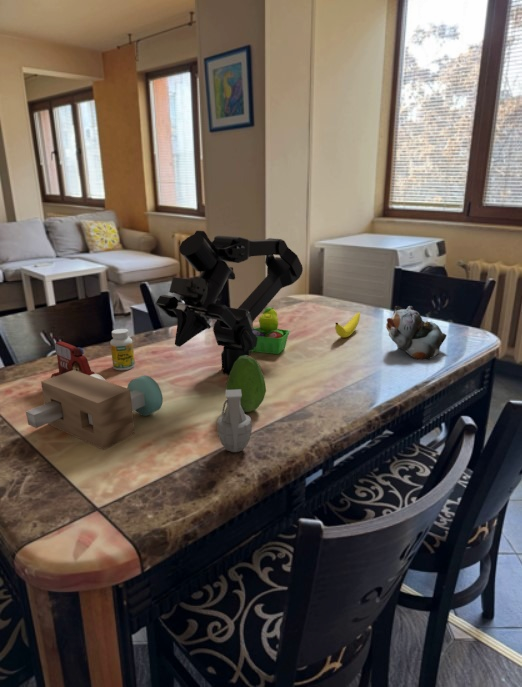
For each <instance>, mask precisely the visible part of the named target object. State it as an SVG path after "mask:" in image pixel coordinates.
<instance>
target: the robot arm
mask: <svg viewBox="0 0 522 687" xmlns="http://www.w3.org/2000/svg"><path fill="white" fill-rule="evenodd" d="M178 249H179V253H180V255H181V256H182V257H183V258H184V259H185V260H186V261H187V262H188V263H189V265H190V266H191V267H192V268H193V269H194V270H195V271H196V272H200V274H199V276H196V277H194V278H192V279H188V278H181V277H172V278H171V283H170V287H169V291H168V292H169V293H170V294H173V293H174V294H176V295H179V296H180V297H179V299H180V300H181V301H182V302H181V301H179V299H178V298H177V297H176V296H173V295H168V294H167V295H166V294H162V295H159V296H158V298H157V300H156V302H155V305H156V306H157V307H158V308H159V309H161V311H163V313H164V314H166V315H167V316H168V317H170V318H172V319H177V322H176V330H175V331H176V332H175V339H174V345H175V346H176V347H179V348H181V347H182V346H183V345H184V344H186V343H187V342H189V341H191V339H193V338H194V337H195V336H197V335H199V334H201V333H202V332H204V331H205V330H207V329H211V325H210V324H211V323H212V320H213V321H214V320H216V321H215V322H214V324H213V329H212V332H213V334H214V338H215V341H216V343H217V346H220V347H223V348H222V349H223V350H222V351H221V354H220V358H221V369H222V374H224V375H225V374H226V375H230V372H231V370H232V367H233V365H234V363H235V361H236V360H237V359H238V358H239V357H240V356H243V355H248V356H250V357H252V356H251V354H252V353H251V352H252V351H251V350H253V349H254V347H256V345H257V340H258V338H257V337H256V336H255V335H254V333H253V327H254V321H255V320H256V319H257V318H258V316H260V314H261V313H263V311H264V310H265V309H266V308H267V306H268V305H269V304H270V303H271V301H272V300H273V299H274V298H275V296H277V294H278V293H279V292H280V291H281V290H282V289H283V288H285V287H289V286H292V285H294V283H296V282H297V281H298V280H300V278H301V276H302V274H303V265H302V263H301V260H300V258H299V255H298V254H296V252H294V251H293V250H292V249H290V248H289V247H288V245H287V243H286V241H285V240H284V239H282V238H272V237H270V238H266V239H248V238H245V237H242V236H232V235H231V236H230V235H217V236H216V235H215V237H214V238H213V240H210V238H209V237H208V235H207V233H206V232H205V230H195V232H194V234H191V235H189V236H188V237H186V238H185V239H184V240H183V241H181V243H180V245H179V248H178ZM274 255H275V256H276V257H275V256H274ZM259 256H260V257H261V256H265V261H264V263H265V265H266V267H267V268H266V276H265V277H264V279H263V280H262V281H261V282H260V283H258V284H259V285H257V286H256V288H255V289H253V291H252V292H251V293H250V294H249V295H248V296H247V297H246V298H245V299H244V301H242V303H241V304H240V305H239V306H238V308H235V307H229V306H227V305H226V304H221V303H220V304H219V303H216V301H221V300H222V299H223V296H222V294H221V292H222V290H223V288H224V286H225V284H226V282H227V280H233V281H234V280H236V273H235V272H234V267H233V266H229V265H228V264H227V263H235V264H239V263H242V262H246V261H247V260H249V258H251V257H259ZM184 302H185V303H184Z"/></svg>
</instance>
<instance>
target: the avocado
mask: <svg viewBox="0 0 522 687" xmlns="http://www.w3.org/2000/svg"><path fill="white" fill-rule="evenodd" d="M262 371H263V370H262V369H261V367H260V365H259V363H258V361H257V360H256V358H254V357H252V356H251V357H250V356H248V355H243V356H240V357H239V358H238V359H237V360H236V361H235V363H234V365H233V367H232V370H231V372H230V374H228V379H227V382H226V386H225V390H236V389H241V394H242V397H241V399H240V405H241V407H242V409H243V411H244V413H250V412H253V411H255V410H257V409H258V408H259V407H260V405H261V404H262V403H263V401H264V399H265V396H266V392H267V388H266V387H267V386H266V380H265V376H264V373H263V372H262Z"/></svg>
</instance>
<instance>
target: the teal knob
mask: <svg viewBox="0 0 522 687" xmlns="http://www.w3.org/2000/svg"><path fill="white" fill-rule="evenodd" d="M126 388H128V389H130V393H131V402H132V412H134V411H135V412H136V413H138V414H139V415H141V416H145V417H146V416H150V415H151V414H153V413H155V412H157V411H159V410H160V409H161V408H162V405H163V400H164V399H163V393H162V390H161V387H160V386H159V384H158V382H157V381H156V380H155V379H154V378H153V377H151V376H149V375H145V374H144V375H141V376H139V377H136V378H134V379H132V380H130V381H129V382H128V383H127V387H126ZM88 418H89V424H91V425H93V423H92V415H90V414H88Z"/></svg>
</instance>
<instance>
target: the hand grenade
mask: <svg viewBox="0 0 522 687" xmlns="http://www.w3.org/2000/svg"><path fill="white" fill-rule="evenodd" d="M241 397H242V394H241V389H236V390H226V389H225V400H224V403H223V405H222V410H221V416H219V417H218V418H217V428H216V429H217V434H218V436H217V437H218V439H219V441H220V443H221V445H222V446H223V447H224V450H227V452H231V453H239V452H242V451H243V450H244V449H245V450H246V447H247V445H248V444H249V442H250V440H251V436H252V432H253V431H252V427H253V426H252V417H250V416H249V415H247V414H245V413H246V412H244V411H243V409H242V407H241V405H240V399H241ZM225 407H226V408H225Z"/></svg>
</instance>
